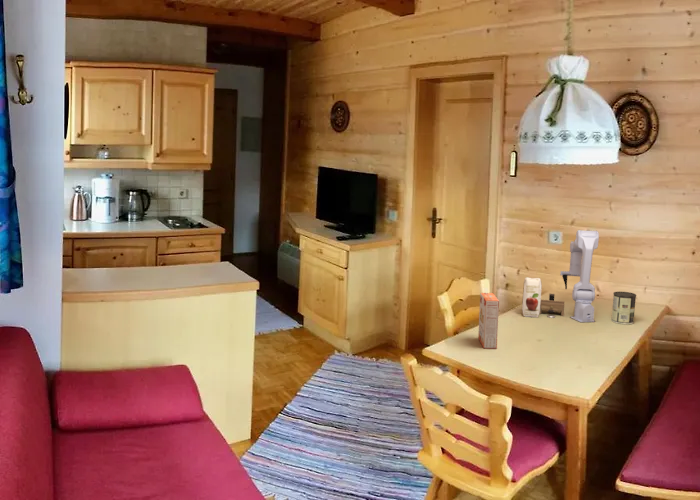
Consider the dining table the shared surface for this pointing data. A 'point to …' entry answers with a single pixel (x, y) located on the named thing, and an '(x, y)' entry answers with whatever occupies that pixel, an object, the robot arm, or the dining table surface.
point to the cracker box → (488, 320)
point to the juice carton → (531, 297)
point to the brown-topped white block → (551, 297)
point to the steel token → (551, 316)
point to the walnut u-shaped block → (552, 306)
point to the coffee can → (623, 307)
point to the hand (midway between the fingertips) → (573, 289)
